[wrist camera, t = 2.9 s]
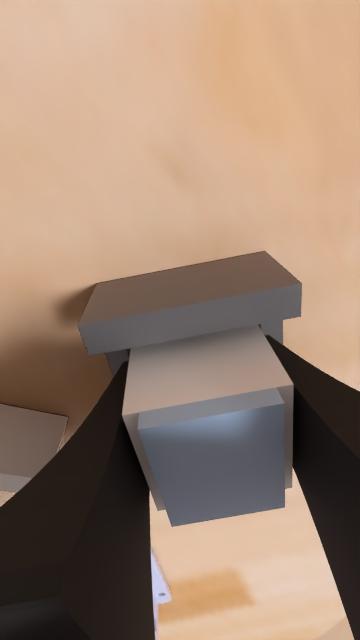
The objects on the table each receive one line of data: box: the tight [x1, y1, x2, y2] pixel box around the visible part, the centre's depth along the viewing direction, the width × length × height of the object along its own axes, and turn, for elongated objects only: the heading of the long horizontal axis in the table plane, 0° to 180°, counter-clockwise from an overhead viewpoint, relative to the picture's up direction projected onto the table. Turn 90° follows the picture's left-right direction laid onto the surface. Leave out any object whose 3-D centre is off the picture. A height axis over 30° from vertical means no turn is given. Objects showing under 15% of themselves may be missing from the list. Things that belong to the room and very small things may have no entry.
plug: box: [122, 325, 294, 527], centre depth 10 cm, size 4×4×6 cm
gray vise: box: [77, 251, 302, 376], centre depth 12 cm, size 13×7×3 cm, turn 10°
